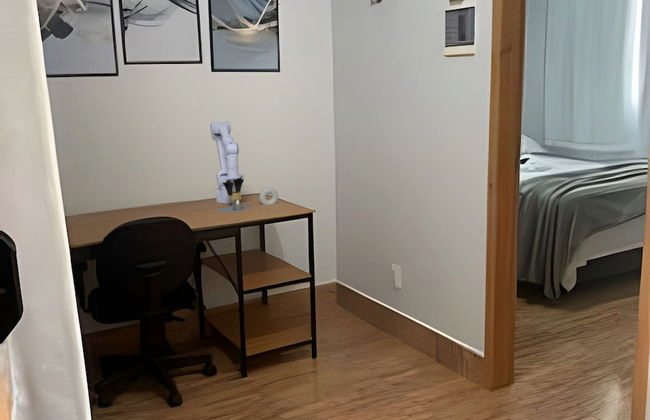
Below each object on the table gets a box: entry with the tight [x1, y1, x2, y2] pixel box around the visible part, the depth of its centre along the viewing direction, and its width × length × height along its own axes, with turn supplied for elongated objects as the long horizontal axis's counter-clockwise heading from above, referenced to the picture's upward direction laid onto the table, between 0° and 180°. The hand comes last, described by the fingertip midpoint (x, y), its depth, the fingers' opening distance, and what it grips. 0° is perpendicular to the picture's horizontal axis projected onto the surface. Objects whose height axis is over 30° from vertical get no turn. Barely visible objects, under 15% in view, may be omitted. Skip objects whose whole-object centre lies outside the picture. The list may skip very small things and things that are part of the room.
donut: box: [258, 187, 279, 206], centre depth 323 cm, size 10×4×10 cm, turn 109°
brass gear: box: [229, 191, 242, 201], centre depth 317 cm, size 6×6×4 cm
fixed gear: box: [231, 202, 245, 211], centre depth 312 cm, size 5×5×3 cm
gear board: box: [214, 199, 255, 214], centre depth 314 cm, size 13×16×6 cm
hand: (234, 194), depth 317 cm, fingers closed on brass gear, 5 cm apart
